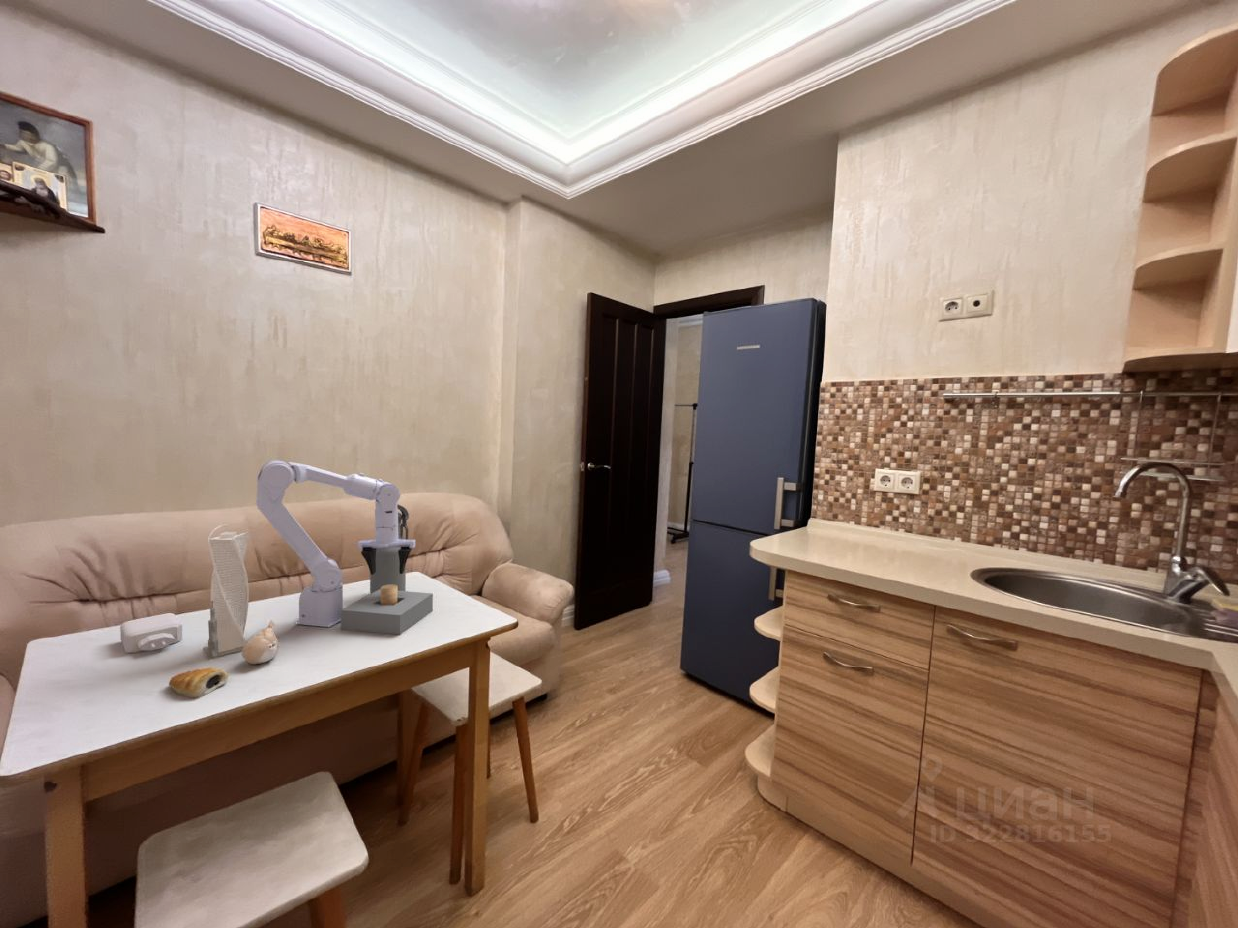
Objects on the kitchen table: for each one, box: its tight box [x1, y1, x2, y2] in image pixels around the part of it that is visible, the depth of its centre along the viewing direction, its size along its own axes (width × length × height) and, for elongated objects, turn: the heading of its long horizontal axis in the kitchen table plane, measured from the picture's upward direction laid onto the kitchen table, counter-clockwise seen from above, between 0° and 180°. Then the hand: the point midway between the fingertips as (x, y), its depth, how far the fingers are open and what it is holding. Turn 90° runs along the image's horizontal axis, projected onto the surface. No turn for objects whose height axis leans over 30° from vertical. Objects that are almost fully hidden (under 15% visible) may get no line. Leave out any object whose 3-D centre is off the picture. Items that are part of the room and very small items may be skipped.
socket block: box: [340, 589, 434, 636], centre depth 126 cm, size 16×16×5 cm
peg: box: [381, 584, 398, 606], centre depth 126 cm, size 4×4×9 cm
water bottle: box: [369, 503, 410, 595], centre depth 143 cm, size 10×10×28 cm
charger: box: [119, 612, 183, 654], centre depth 107 cm, size 5×9×15 cm
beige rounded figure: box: [241, 619, 280, 665], centre depth 102 cm, size 7×6×8 cm
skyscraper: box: [202, 523, 250, 661], centre depth 106 cm, size 8×8×28 cm
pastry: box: [168, 666, 229, 698], centre depth 91 cm, size 9×7×4 cm
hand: (387, 573), depth 132 cm, fingers open, 7 cm apart
